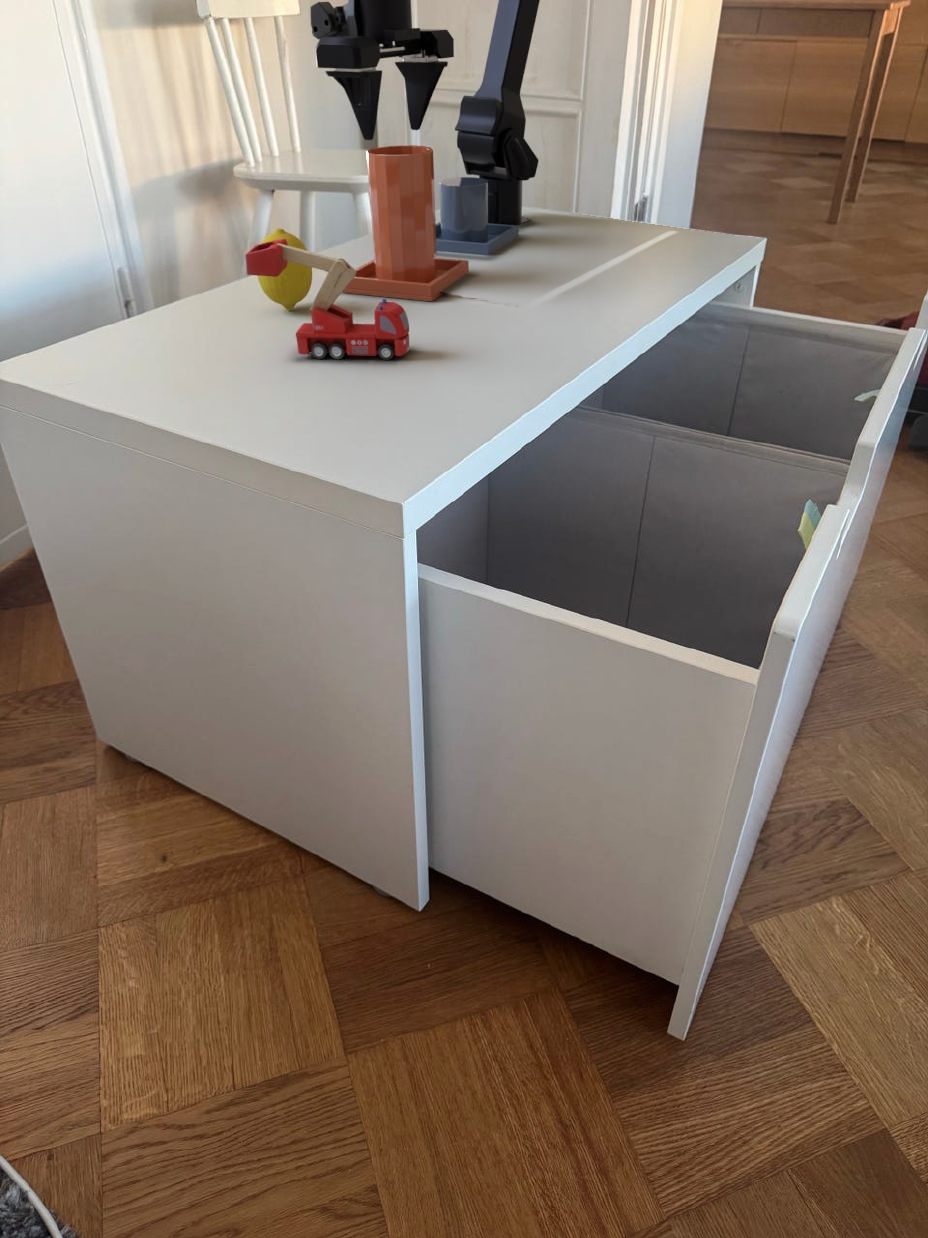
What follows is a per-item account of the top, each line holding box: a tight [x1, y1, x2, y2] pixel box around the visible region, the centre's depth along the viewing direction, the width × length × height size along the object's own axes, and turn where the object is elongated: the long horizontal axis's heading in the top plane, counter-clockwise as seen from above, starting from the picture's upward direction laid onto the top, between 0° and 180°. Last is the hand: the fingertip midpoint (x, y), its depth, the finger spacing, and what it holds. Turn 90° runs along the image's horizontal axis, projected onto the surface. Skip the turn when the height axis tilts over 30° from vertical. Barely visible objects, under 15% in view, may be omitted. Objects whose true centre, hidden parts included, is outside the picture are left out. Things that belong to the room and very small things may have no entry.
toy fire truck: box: [244, 239, 410, 361], centre depth 81 cm, size 3×14×10 cm, turn 84°
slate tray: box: [436, 221, 520, 256], centre depth 116 cm, size 11×11×2 cm
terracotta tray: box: [342, 257, 470, 302], centre depth 102 cm, size 11×11×2 cm
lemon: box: [257, 227, 313, 311], centre depth 93 cm, size 6×6×8 cm
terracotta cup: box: [366, 144, 438, 283], centre depth 99 cm, size 7×7×13 cm
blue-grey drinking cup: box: [438, 176, 488, 243], centre depth 114 cm, size 6×6×7 cm
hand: (392, 134), depth 108 cm, fingers open, 9 cm apart
